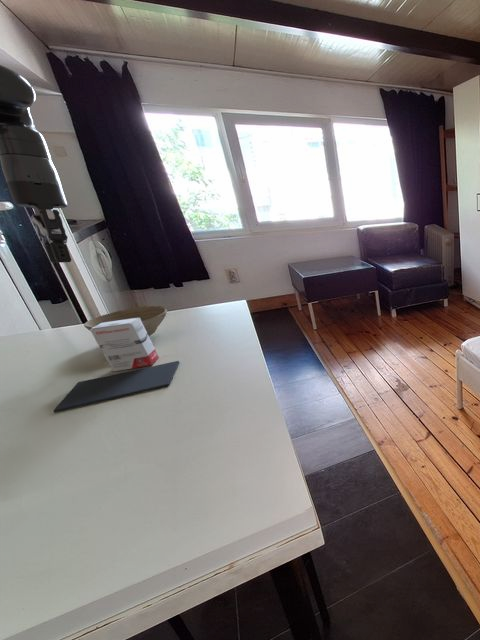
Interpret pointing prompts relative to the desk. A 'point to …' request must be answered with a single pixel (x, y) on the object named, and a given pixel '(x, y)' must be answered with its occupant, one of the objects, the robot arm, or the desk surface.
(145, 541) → the desk surface
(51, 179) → the robot arm
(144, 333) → the ink box
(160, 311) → the bowl
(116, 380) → the mat
